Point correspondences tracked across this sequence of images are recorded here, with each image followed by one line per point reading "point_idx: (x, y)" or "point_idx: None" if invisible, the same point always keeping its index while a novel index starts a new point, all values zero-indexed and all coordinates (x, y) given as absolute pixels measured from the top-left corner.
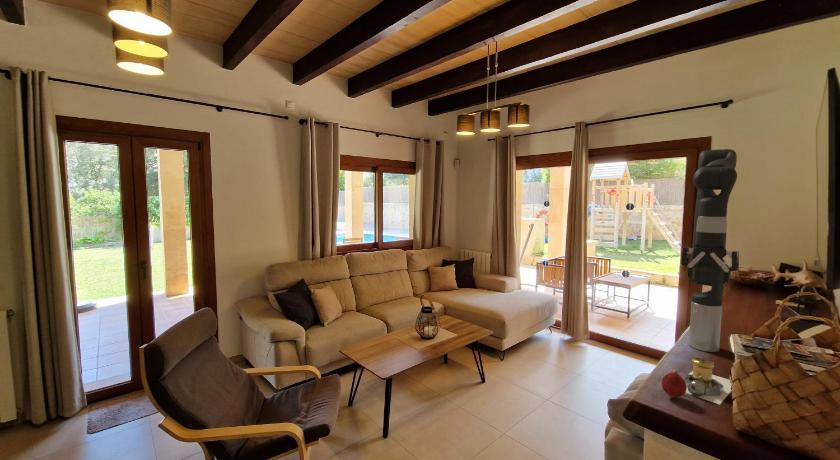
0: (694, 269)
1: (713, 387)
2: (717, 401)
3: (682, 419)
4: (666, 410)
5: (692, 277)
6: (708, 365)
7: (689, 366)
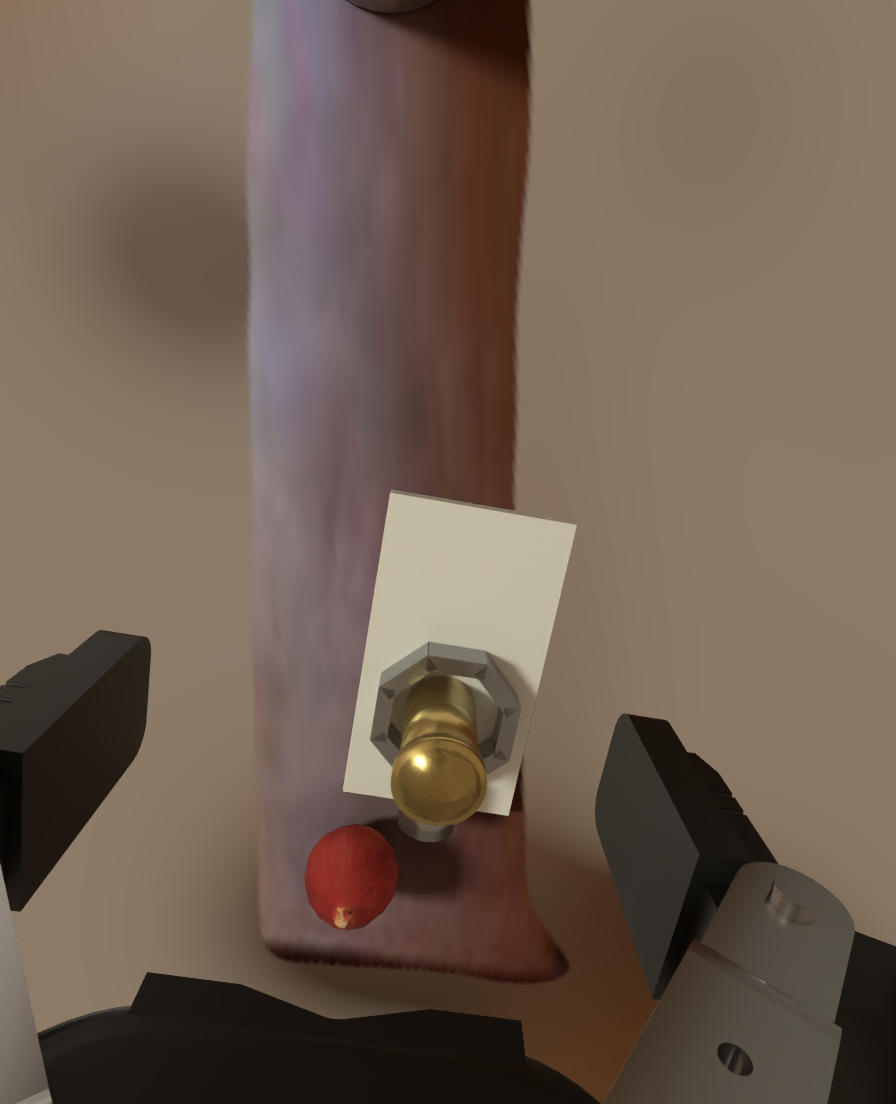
0: (47, 753)
1: (485, 759)
2: (500, 796)
3: (409, 962)
4: (357, 939)
5: (127, 747)
6: (465, 818)
7: (361, 414)
